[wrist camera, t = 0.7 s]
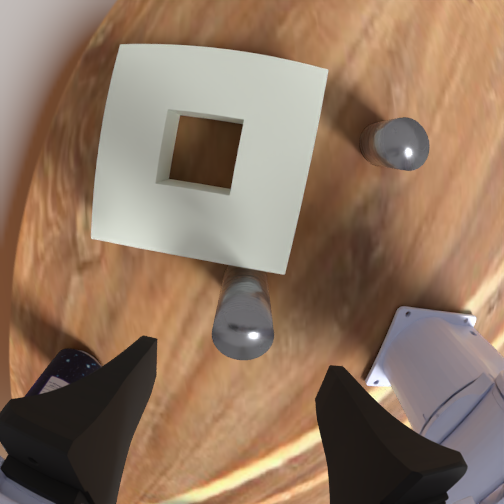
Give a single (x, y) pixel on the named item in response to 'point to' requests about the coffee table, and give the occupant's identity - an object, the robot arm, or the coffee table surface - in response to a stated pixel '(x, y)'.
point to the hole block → (247, 163)
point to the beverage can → (64, 371)
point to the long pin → (243, 314)
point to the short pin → (395, 144)
